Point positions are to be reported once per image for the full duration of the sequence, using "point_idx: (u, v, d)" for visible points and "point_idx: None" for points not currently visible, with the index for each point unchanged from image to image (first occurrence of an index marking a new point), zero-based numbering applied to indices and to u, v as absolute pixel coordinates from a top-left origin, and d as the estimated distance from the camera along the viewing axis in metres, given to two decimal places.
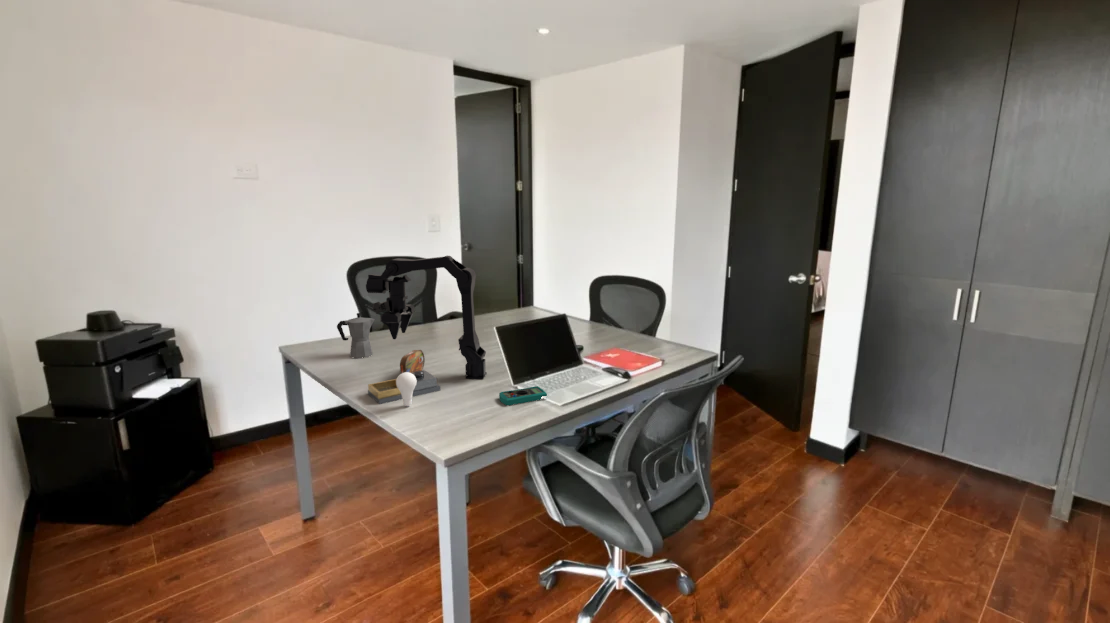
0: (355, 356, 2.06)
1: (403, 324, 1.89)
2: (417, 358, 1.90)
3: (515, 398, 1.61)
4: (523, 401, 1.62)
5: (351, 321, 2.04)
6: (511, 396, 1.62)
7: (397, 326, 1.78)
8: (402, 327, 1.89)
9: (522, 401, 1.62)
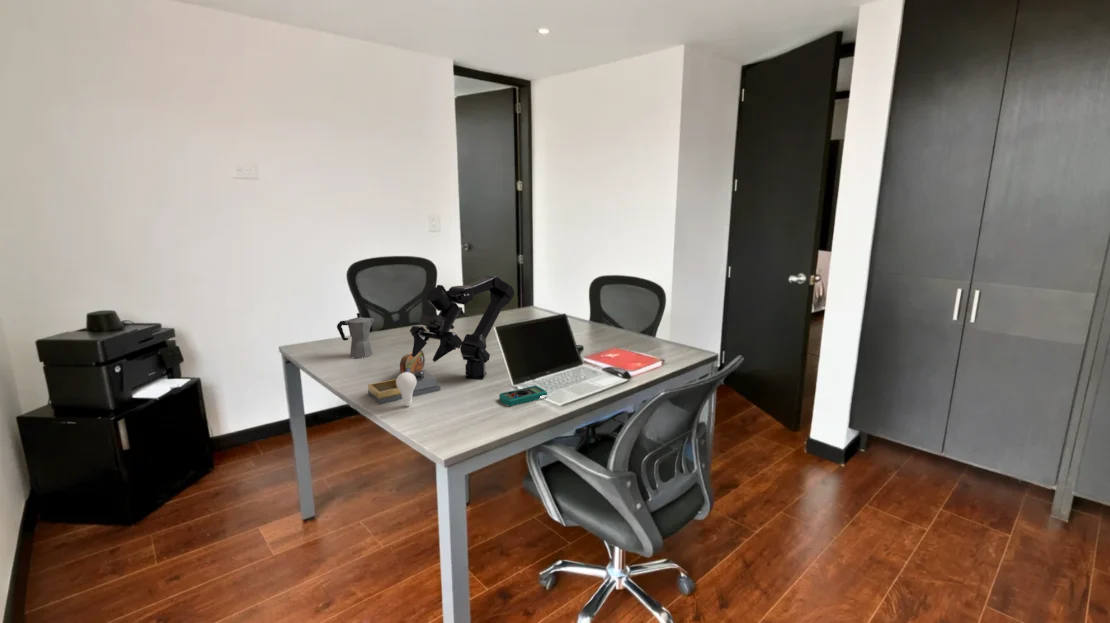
0: (355, 356, 2.06)
1: (417, 348, 1.66)
2: (417, 358, 1.90)
3: (517, 398, 1.61)
4: (525, 401, 1.62)
5: (351, 321, 2.04)
6: (513, 397, 1.62)
7: (448, 351, 1.63)
8: (415, 350, 1.65)
9: (524, 401, 1.62)
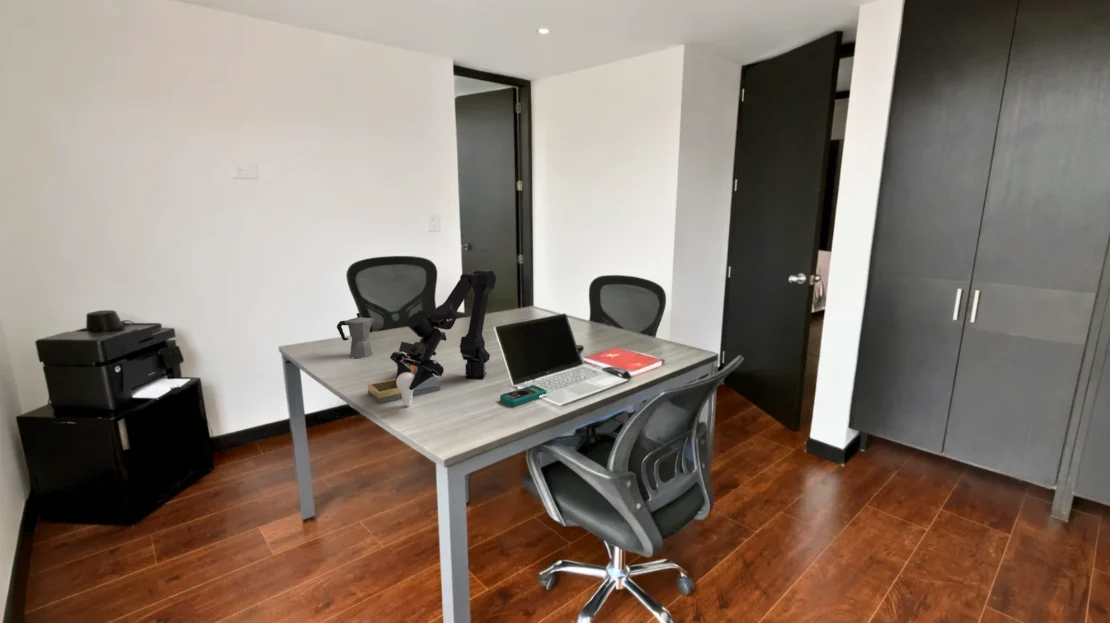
0: (355, 356, 2.06)
1: None
2: None
3: (520, 399, 1.60)
4: (527, 401, 1.63)
5: (351, 321, 2.04)
6: (515, 397, 1.61)
7: (426, 378, 1.57)
8: None
9: (526, 401, 1.62)
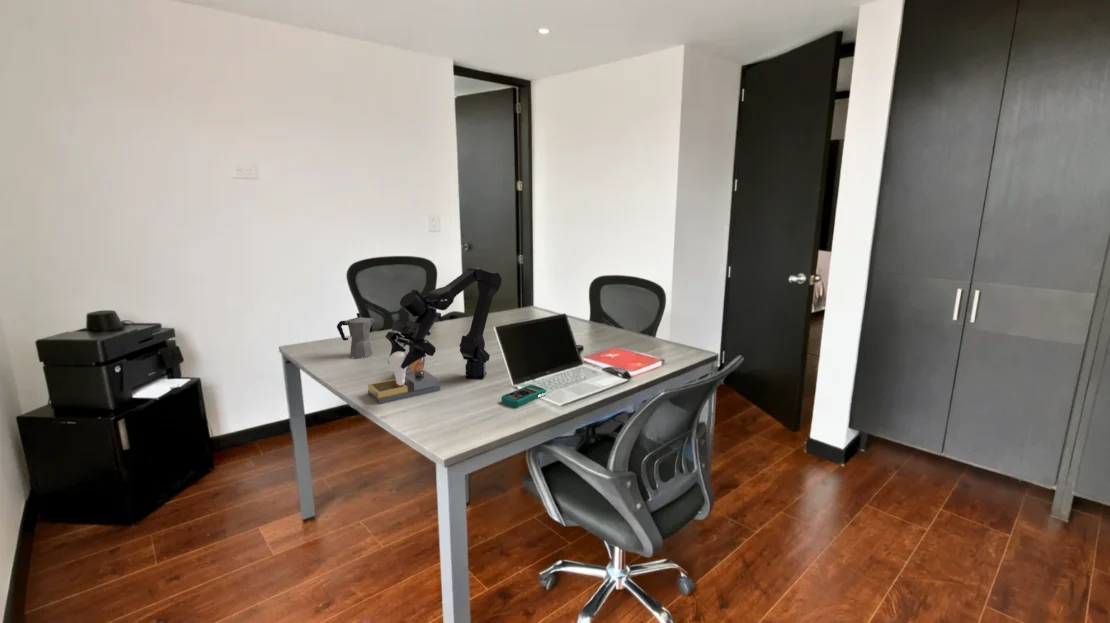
0: (355, 356, 2.06)
1: None
2: None
3: (523, 399, 1.60)
4: (529, 401, 1.63)
5: (351, 321, 2.04)
6: (517, 397, 1.61)
7: (418, 358, 1.57)
8: None
9: (528, 401, 1.63)
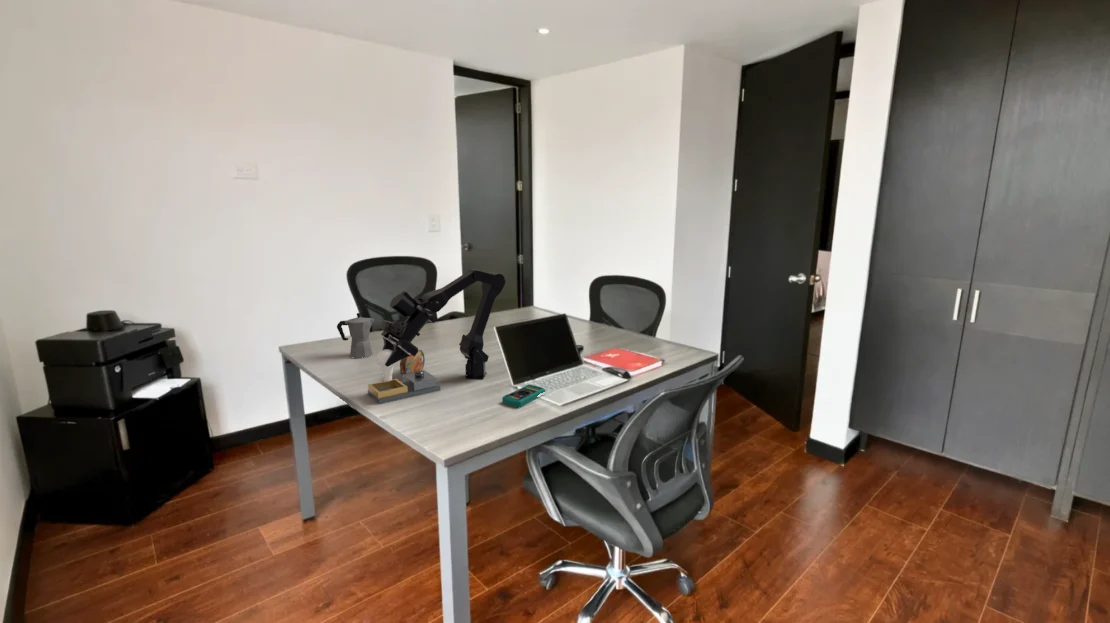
0: (355, 356, 2.06)
1: None
2: (417, 358, 1.90)
3: (525, 399, 1.61)
4: (530, 400, 1.63)
5: (351, 321, 2.04)
6: (519, 398, 1.61)
7: (403, 357, 1.63)
8: None
9: (529, 400, 1.63)
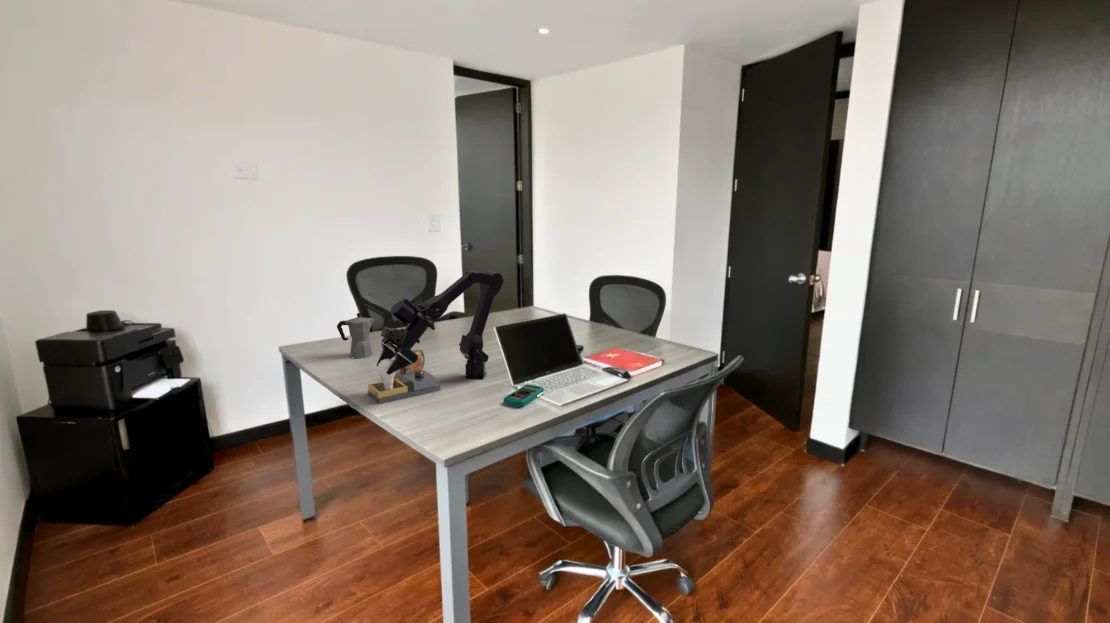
0: (355, 356, 2.06)
1: (384, 358, 1.69)
2: None
3: (526, 398, 1.61)
4: (531, 400, 1.63)
5: (351, 321, 2.04)
6: (521, 398, 1.61)
7: (404, 365, 1.62)
8: None
9: (531, 400, 1.63)
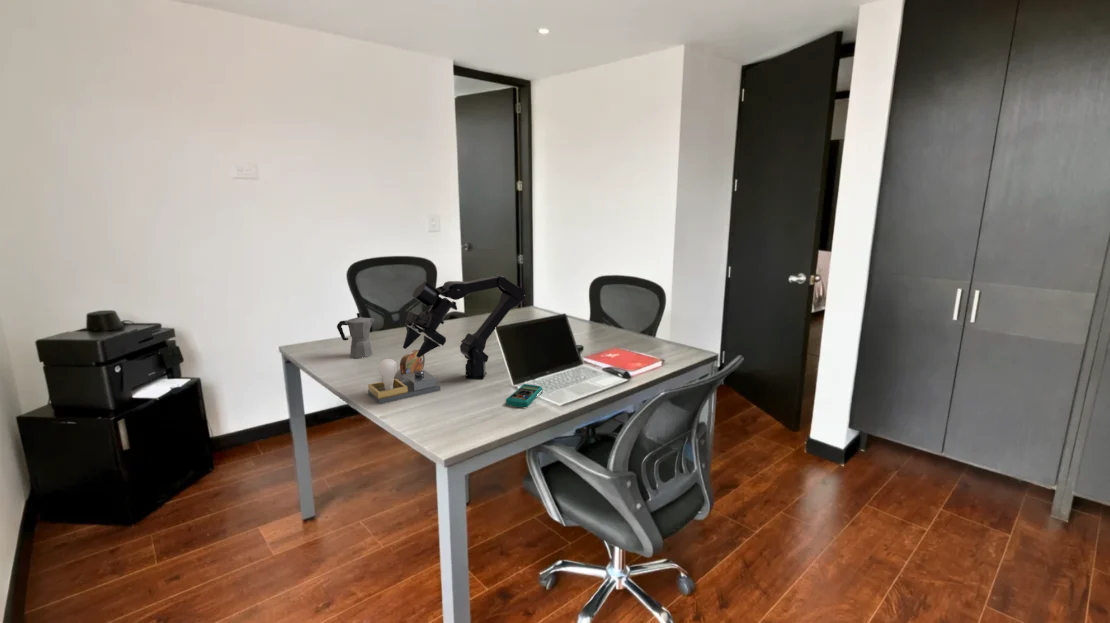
0: (355, 356, 2.06)
1: (409, 340, 1.74)
2: (417, 358, 1.90)
3: (529, 398, 1.61)
4: (533, 399, 1.64)
5: (351, 321, 2.05)
6: (523, 398, 1.61)
7: (433, 347, 1.68)
8: (407, 342, 1.73)
9: (532, 400, 1.63)
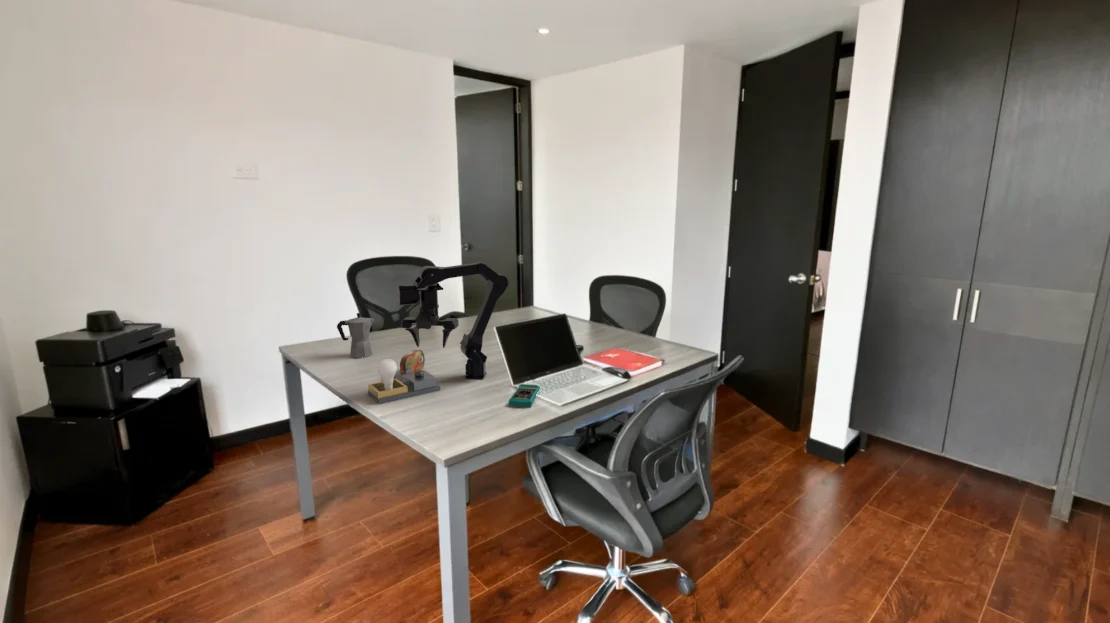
0: (355, 356, 2.06)
1: (417, 337, 1.77)
2: (417, 358, 1.90)
3: (532, 398, 1.61)
4: (534, 399, 1.64)
5: (351, 321, 2.04)
6: (526, 397, 1.61)
7: (450, 331, 1.78)
8: (418, 341, 1.77)
9: (534, 399, 1.64)
